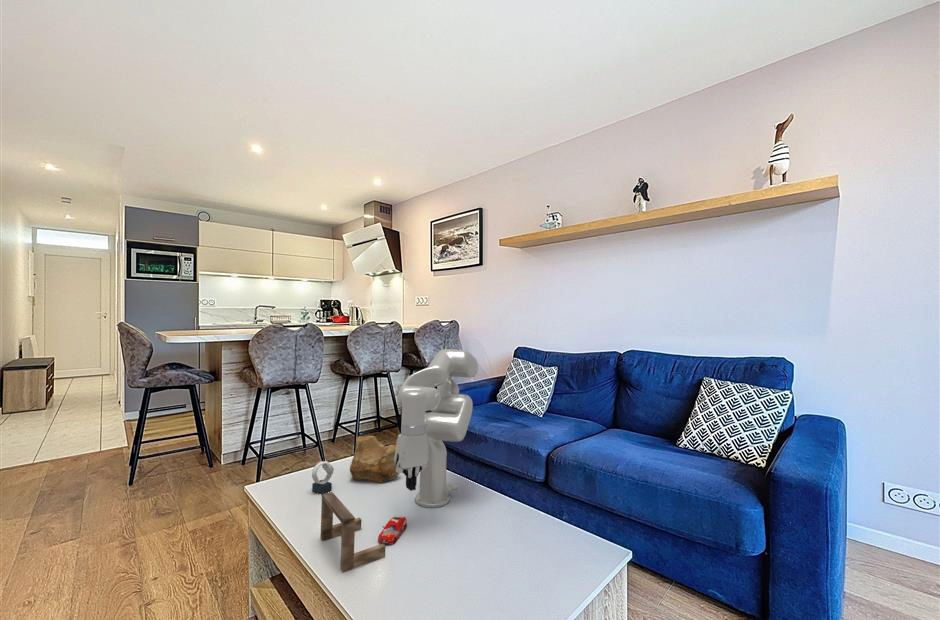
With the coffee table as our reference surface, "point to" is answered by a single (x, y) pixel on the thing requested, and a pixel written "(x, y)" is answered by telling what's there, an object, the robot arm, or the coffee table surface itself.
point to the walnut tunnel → (345, 533)
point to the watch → (322, 485)
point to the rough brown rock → (373, 460)
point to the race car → (392, 530)
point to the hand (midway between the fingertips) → (410, 488)
